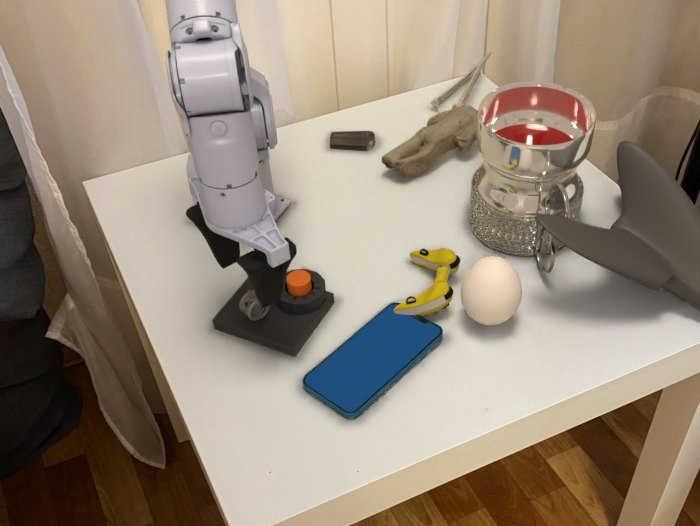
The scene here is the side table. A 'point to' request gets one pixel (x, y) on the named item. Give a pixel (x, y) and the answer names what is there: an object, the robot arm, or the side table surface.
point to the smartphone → (371, 360)
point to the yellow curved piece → (440, 290)
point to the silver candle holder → (529, 165)
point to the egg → (491, 291)
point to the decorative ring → (252, 306)
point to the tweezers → (467, 92)
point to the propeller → (642, 229)
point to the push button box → (278, 316)
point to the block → (352, 140)
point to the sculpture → (434, 141)
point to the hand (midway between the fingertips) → (249, 282)
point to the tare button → (299, 283)
